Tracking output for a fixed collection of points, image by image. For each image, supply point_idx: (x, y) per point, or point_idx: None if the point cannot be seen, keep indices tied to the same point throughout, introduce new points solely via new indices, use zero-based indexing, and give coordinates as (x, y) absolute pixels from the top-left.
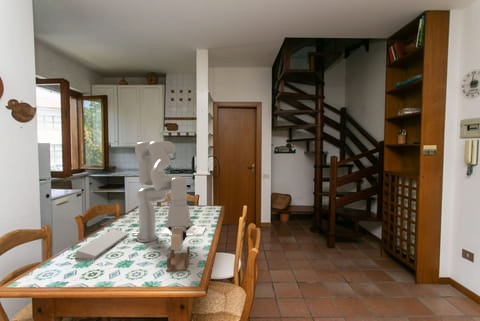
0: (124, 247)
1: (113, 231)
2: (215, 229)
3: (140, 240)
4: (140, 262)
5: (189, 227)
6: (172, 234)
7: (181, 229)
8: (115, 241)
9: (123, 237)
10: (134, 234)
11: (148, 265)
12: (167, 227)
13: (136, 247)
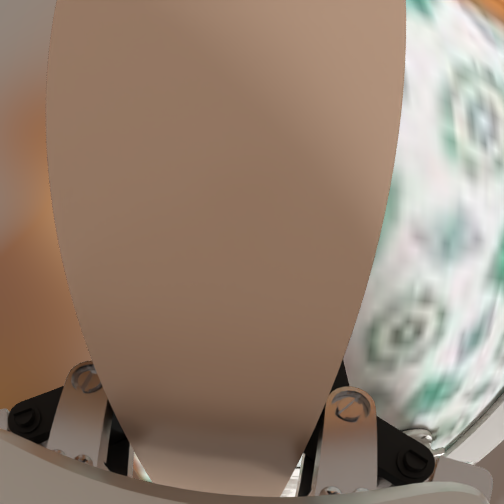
0: (479, 390)
1: (482, 452)
2: (138, 468)
3: (425, 433)
4: (468, 257)
5: (11, 412)
6: (392, 17)
7: (147, 423)
8: (494, 412)
9: (459, 441)
10: (440, 453)
11: (438, 211)
12: (443, 467)
13: (447, 395)
